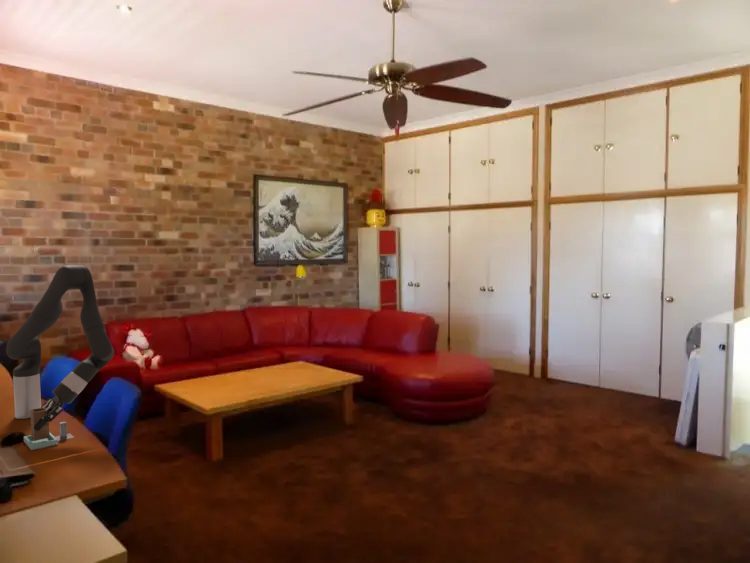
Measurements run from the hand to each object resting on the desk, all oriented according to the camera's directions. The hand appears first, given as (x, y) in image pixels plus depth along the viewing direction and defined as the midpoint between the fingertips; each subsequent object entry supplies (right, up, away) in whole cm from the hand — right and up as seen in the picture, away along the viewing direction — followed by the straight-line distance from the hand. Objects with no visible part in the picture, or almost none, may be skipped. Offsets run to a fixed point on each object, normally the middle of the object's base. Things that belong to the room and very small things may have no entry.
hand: (33, 427), depth 194 cm
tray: (+1, -6, +2) cm, 7 cm away
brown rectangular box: (+1, -4, +2) cm, 4 cm away
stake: (+6, -6, +8) cm, 11 cm away
